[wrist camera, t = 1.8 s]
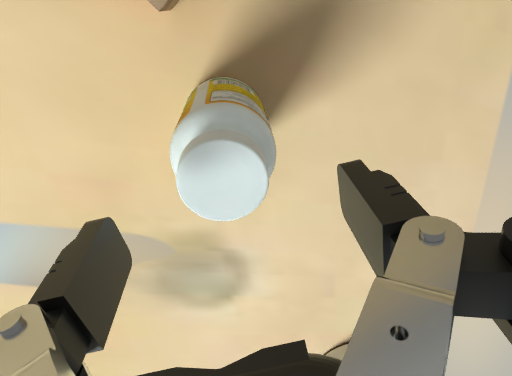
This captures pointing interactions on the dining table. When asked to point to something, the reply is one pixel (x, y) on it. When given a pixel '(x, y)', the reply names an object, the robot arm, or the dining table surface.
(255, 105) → the supplement bottle
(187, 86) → the dining table surface
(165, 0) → the wooden box
